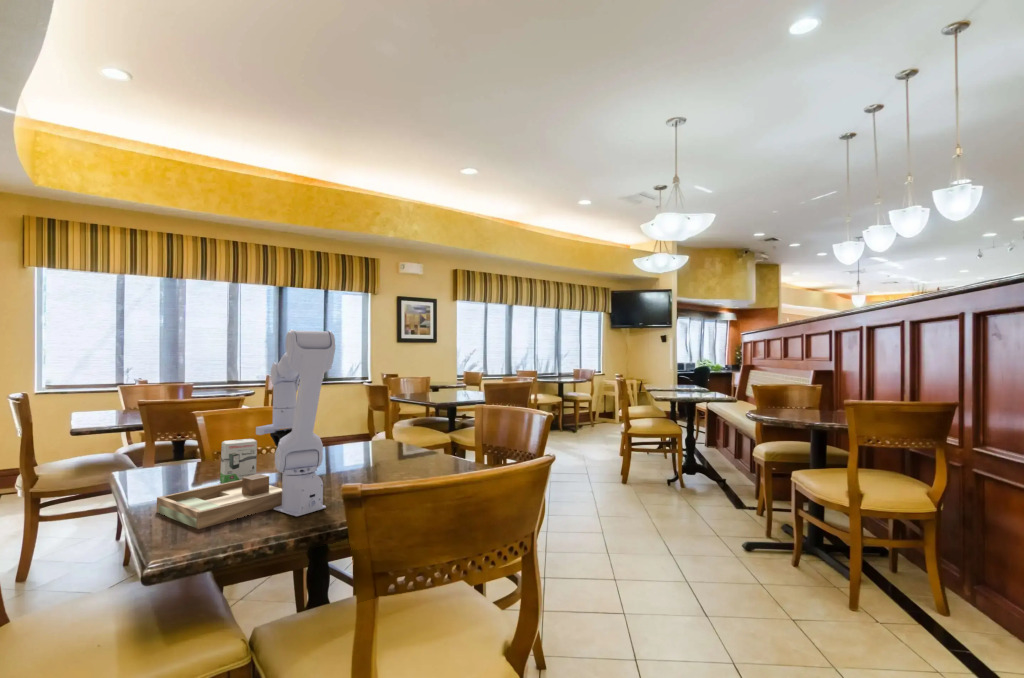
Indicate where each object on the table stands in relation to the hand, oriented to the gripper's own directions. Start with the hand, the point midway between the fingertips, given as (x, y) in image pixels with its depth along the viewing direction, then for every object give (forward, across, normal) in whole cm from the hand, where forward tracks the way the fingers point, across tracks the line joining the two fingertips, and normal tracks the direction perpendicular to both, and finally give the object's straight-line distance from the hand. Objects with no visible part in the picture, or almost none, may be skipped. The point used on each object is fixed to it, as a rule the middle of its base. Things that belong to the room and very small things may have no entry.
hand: (283, 458), depth 131 cm
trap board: (+9, +14, 0) cm, 16 cm away
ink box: (+10, 0, -23) cm, 25 cm away
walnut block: (+7, +8, 0) cm, 11 cm away
